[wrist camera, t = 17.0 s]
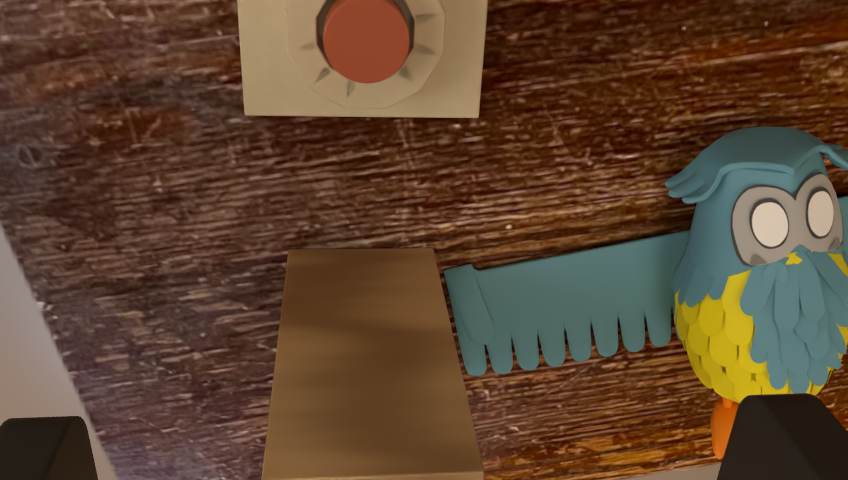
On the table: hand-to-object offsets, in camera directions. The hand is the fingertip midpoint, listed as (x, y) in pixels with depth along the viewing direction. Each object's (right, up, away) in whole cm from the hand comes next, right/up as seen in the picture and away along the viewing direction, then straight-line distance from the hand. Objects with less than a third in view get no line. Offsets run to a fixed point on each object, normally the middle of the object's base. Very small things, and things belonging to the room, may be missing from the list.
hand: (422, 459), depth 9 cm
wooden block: (-3, -1, +30) cm, 30 cm away
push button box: (-3, +12, +23) cm, 26 cm away
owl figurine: (+15, +2, +30) cm, 34 cm away
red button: (-2, +11, +21) cm, 23 cm away
